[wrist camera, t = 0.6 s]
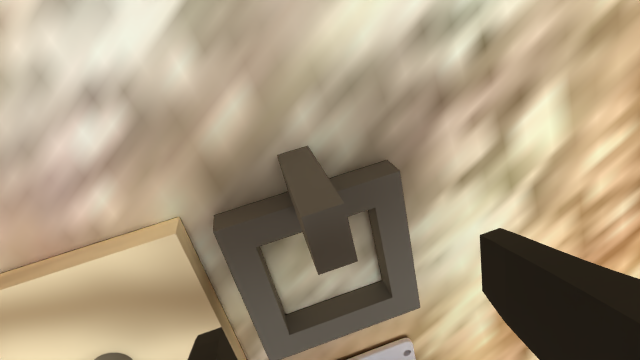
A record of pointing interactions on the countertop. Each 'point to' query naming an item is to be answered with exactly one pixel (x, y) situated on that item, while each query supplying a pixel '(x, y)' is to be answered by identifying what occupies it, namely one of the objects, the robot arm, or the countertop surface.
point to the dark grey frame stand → (321, 251)
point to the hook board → (112, 301)
